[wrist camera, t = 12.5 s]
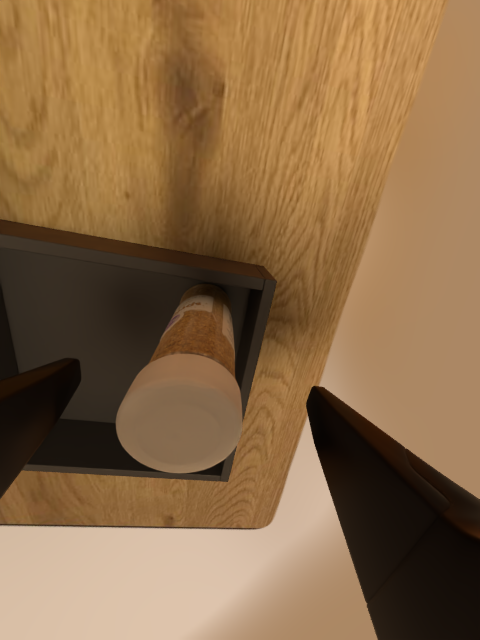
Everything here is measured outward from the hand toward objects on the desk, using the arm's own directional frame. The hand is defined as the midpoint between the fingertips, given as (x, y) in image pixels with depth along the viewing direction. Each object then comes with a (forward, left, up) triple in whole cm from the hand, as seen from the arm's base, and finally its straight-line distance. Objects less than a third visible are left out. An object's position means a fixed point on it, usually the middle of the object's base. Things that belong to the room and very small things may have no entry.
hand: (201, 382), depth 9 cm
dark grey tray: (+7, +7, -13) cm, 16 cm away
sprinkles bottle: (+1, +1, -12) cm, 12 cm away
